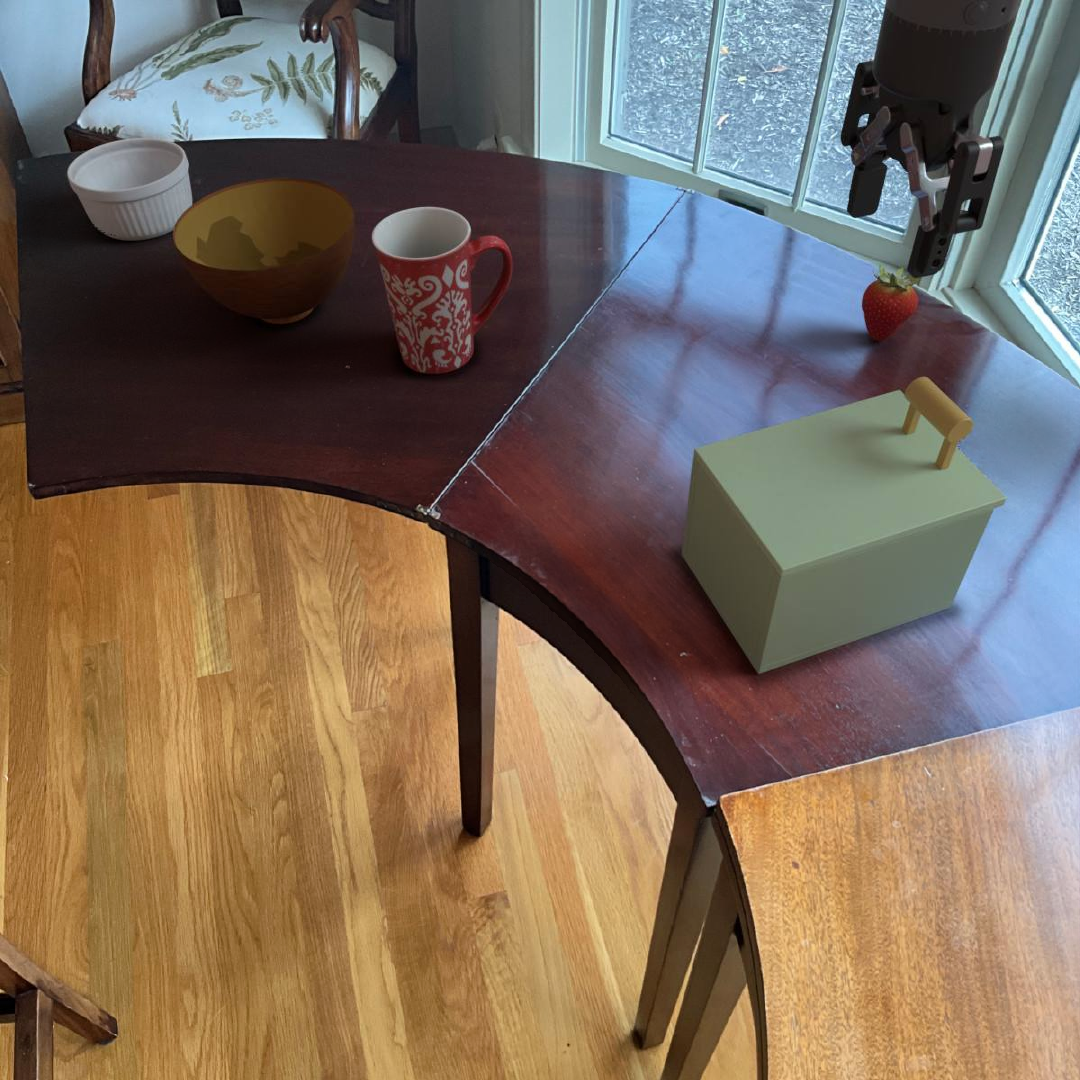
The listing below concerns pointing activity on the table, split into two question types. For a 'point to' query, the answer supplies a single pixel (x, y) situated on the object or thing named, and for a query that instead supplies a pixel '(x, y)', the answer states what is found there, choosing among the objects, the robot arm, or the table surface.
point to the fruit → (888, 303)
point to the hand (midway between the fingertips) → (890, 242)
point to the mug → (435, 285)
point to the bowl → (268, 246)
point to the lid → (851, 477)
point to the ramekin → (133, 187)
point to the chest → (819, 582)
